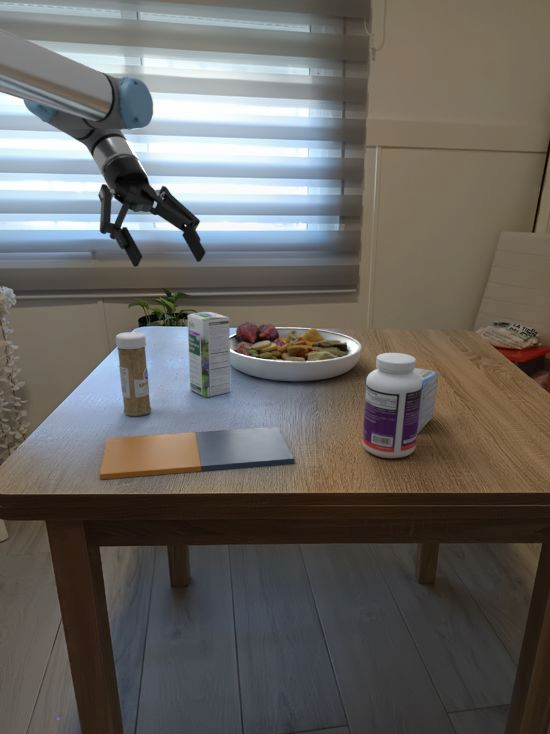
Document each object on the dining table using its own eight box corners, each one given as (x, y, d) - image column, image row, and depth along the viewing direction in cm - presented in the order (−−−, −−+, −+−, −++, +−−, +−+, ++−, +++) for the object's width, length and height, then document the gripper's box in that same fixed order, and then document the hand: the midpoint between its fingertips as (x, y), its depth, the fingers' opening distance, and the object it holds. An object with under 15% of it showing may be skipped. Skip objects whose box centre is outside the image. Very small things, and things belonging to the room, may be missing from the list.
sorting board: (100, 479, 75) (99, 474, 75) (107, 442, 86) (106, 437, 85) (294, 463, 81) (294, 458, 81) (278, 430, 92) (278, 426, 92)
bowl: (380, 359, 133) (383, 326, 130) (321, 396, 108) (322, 355, 105) (270, 341, 145) (270, 310, 142) (194, 370, 120) (192, 333, 117)
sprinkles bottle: (151, 416, 96) (144, 337, 91) (122, 418, 95) (114, 338, 90) (151, 406, 100) (145, 330, 95) (123, 408, 99) (116, 331, 94)
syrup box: (189, 390, 109) (185, 313, 103) (215, 384, 112) (213, 310, 107) (205, 398, 105) (202, 319, 99) (232, 392, 108) (230, 315, 103)
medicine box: (408, 414, 101) (413, 366, 98) (433, 419, 99) (439, 371, 96) (392, 428, 95) (397, 378, 91) (418, 434, 93) (424, 383, 89)
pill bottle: (404, 437, 91) (413, 349, 86) (423, 459, 84) (434, 364, 79) (355, 440, 90) (361, 350, 84) (370, 462, 82) (377, 366, 77)
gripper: (171, 186, 121) (217, 267, 118) (52, 182, 104) (102, 277, 101) (184, 158, 116) (232, 242, 112) (61, 150, 99) (114, 249, 95)
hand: (171, 259), depth 106 cm, fingers open, 13 cm apart
